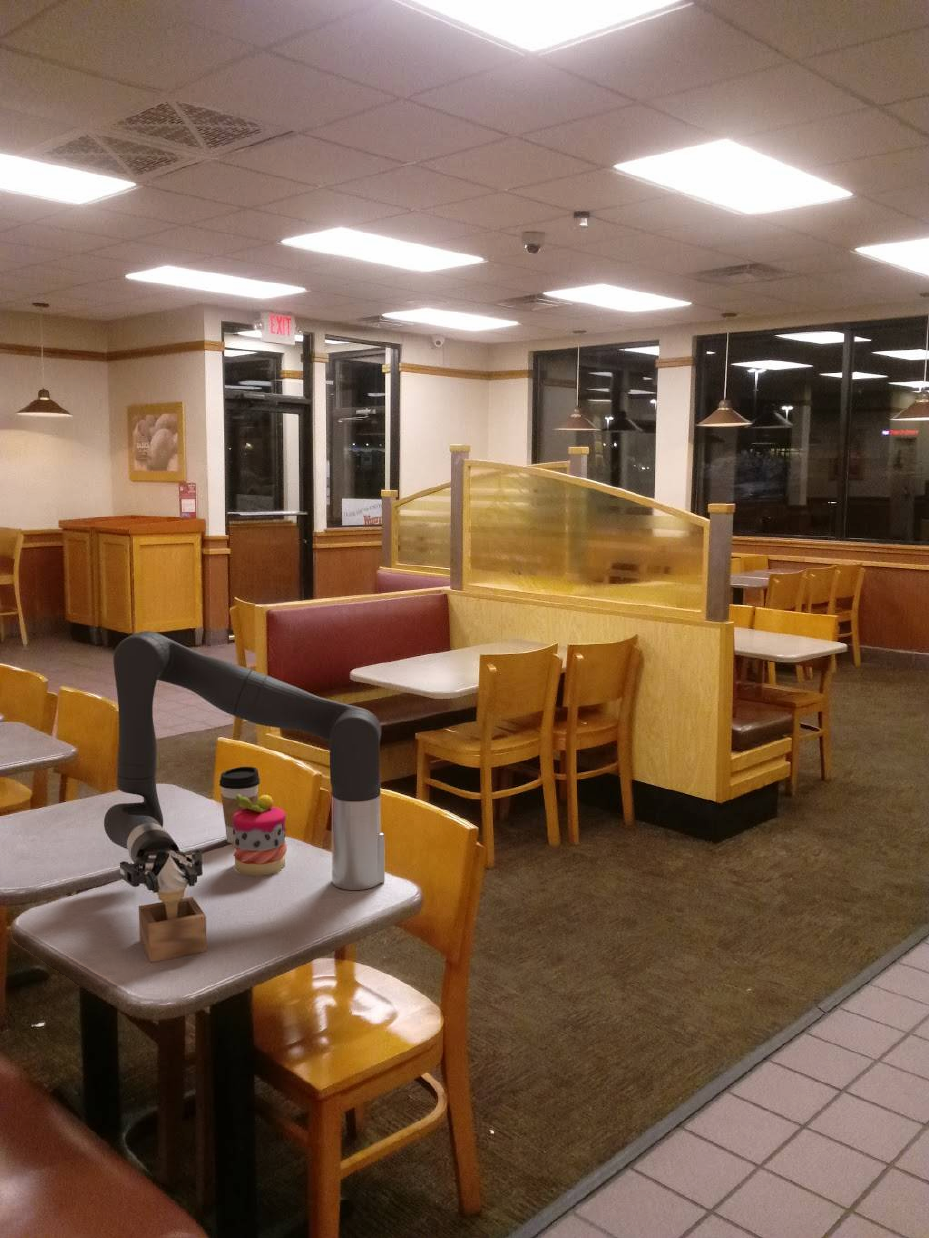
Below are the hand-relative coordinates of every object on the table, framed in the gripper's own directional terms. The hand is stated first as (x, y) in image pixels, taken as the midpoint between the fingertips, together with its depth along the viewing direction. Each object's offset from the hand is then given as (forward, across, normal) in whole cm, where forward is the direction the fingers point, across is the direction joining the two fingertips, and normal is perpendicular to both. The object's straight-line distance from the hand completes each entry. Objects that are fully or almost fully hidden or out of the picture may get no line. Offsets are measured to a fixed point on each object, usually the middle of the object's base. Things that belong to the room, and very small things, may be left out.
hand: (174, 883), depth 168 cm
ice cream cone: (-3, 0, +11) cm, 11 cm away
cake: (-30, +24, +12) cm, 40 cm away
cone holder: (-2, 0, +12) cm, 12 cm away
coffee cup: (-47, +24, +12) cm, 55 cm away
